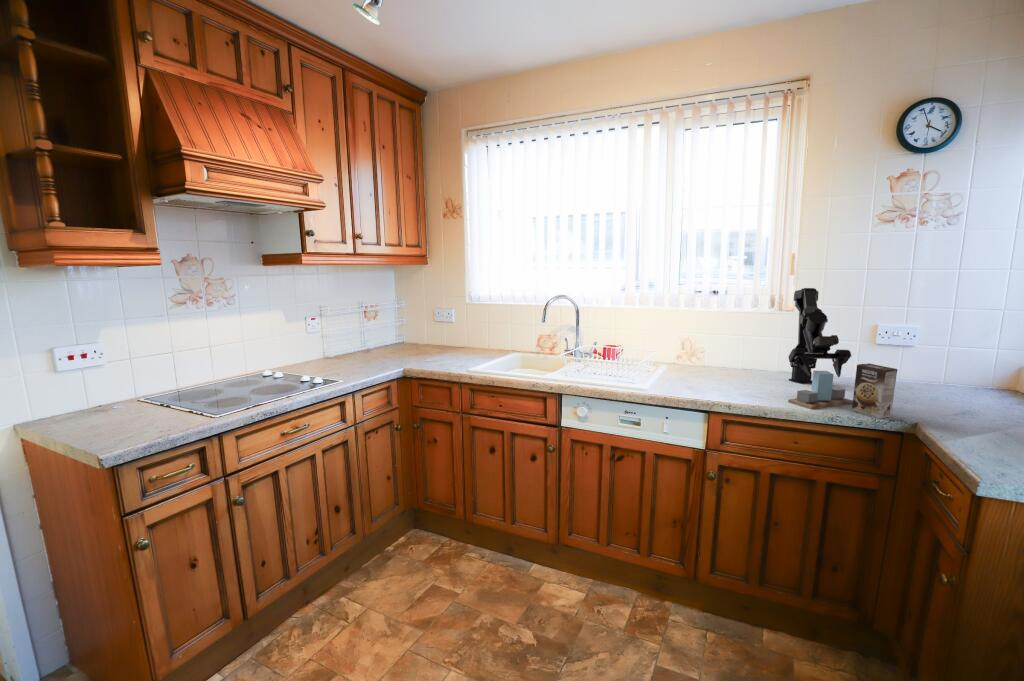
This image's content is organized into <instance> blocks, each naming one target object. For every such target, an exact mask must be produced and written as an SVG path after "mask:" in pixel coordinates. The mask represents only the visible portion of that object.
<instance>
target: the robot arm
mask: <svg viewBox="0 0 1024 681" xmlns="http://www.w3.org/2000/svg"><path fill="white" fill-rule="evenodd" d="M818 301H819V290H817V288H814V287H804V288H801V289H799V290H795V291H794V292H793V302H794V304H795V305H794V306H795V308H796V309H797V311H798V335H797V338H798V339H797V344H796V346H794V347H795V348H793V349H792V350H791V351H790V353H789V354H788V361H789V367H790V368H792V369H791V370H792V371H791V378H788V381H792V382H794V383H798V384H808V383H812V376H813V372H812V369H813V370H814V369H815V368H816V367H817V362H818V360H832V363H833V364H832V366H833V369H834V372H835V374H836V376H837V378H840V377H841V375H842V368H843V365H845V364H847V363H848V361H849V359H851V357H852V352H851V350H849V349H839V348H838V349H836V350H835V352H834V353H833V352H832V353H831V352H829V351H830V350H831V347H832V346H837V345H838V344H839V343H840V342H839V341H840V339H839V336H838V335H834V334H832V335H829V336H828V335H827V336H826V335H823V332H824V329H825V326H826V323H828V320H829V319H828V315H826V314H825V313H824V312H823V310H822V309H820V308H818Z"/></svg>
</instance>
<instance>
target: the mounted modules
mask: <svg viewBox="0 0 1024 681" xmlns="http://www.w3.org/2000/svg"><path fill="white" fill-rule="evenodd" d="M796 394H797V395H796V398H797V399H798V400H802V401H805V402H815V401H817V393H816V392H812V391H811V390H808V389H802V390H797V393H796ZM845 395H846V389H845V388H842V387H837V386H833V385H832V394H831V397H833V398H836V399H837V398H846V397H845Z"/></svg>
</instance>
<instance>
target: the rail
mask: <svg viewBox="0 0 1024 681" xmlns="http://www.w3.org/2000/svg"><path fill="white" fill-rule="evenodd" d="M844 398H845V397H844ZM844 398H837V399H836V398H833V397H831V400H838V399H844ZM797 401H799V402H802V403H805V404H809V403H816V402H823V401H830V400H817V401H815V402H805V401H802V400H798V399H797Z"/></svg>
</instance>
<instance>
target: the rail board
mask: <svg viewBox="0 0 1024 681" xmlns="http://www.w3.org/2000/svg"><path fill="white" fill-rule="evenodd" d="M787 402H788V403H790V404H793V405H797V406H800V407H803V408H805V409H809V410H814V409H820V408H821V407H822V408H826V407H827V408H828V406H829V407H835V406H834V405H836V406H842V405H841V404H843V405H848V403H850V404H852V403H853V399H849V398H846V397H844V399H838V400H831V401H823V402H816V403H809V404H805V403H802V402H799V401H797V397H796V398H790V399H789V398H788V401H787Z"/></svg>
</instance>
